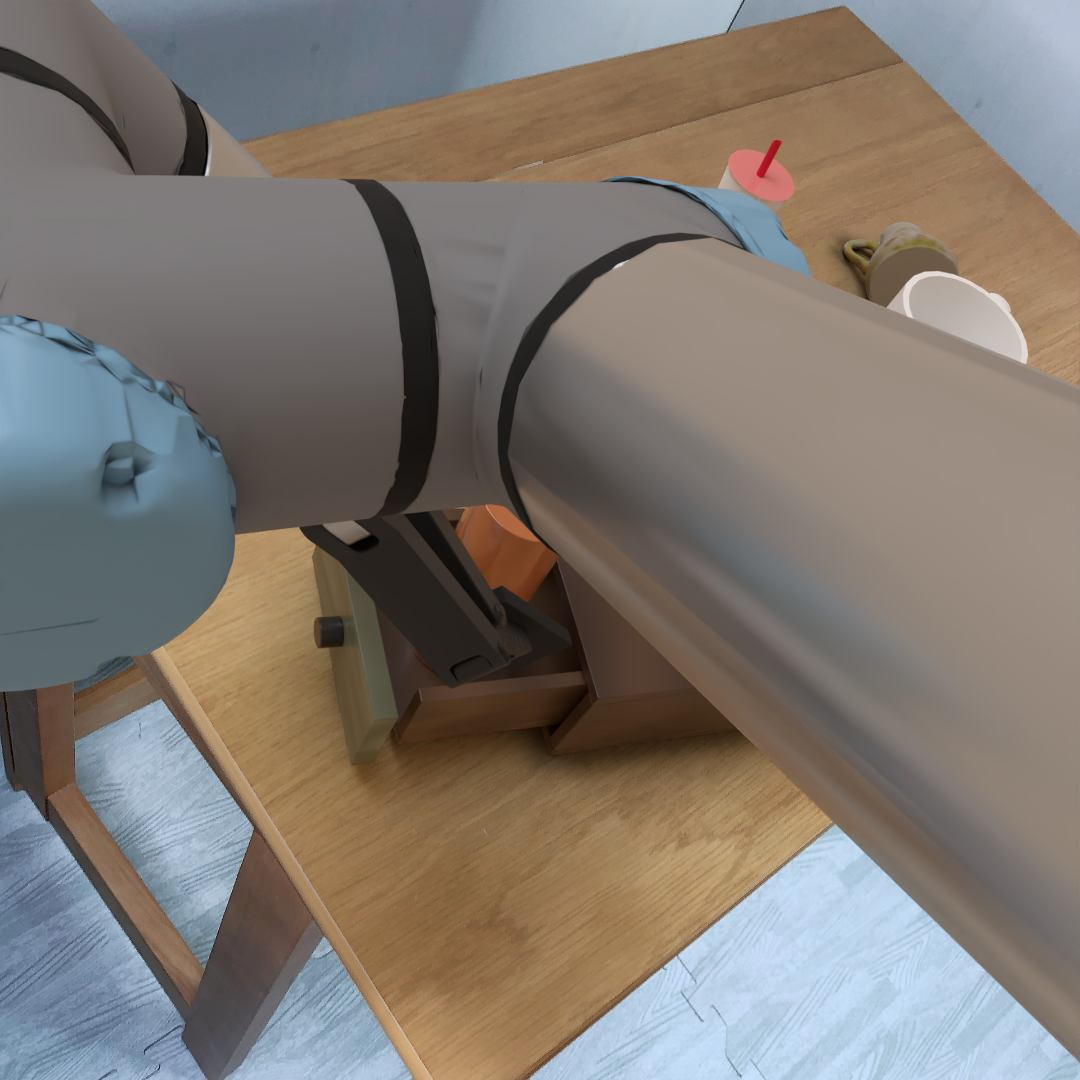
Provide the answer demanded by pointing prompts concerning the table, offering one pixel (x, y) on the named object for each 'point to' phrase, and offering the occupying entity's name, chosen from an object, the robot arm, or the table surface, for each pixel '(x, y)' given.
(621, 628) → the cabinet
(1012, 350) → the mug
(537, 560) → the orange cylindrical post
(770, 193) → the cup
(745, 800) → the table surface
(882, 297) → the mug
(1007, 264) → the table surface
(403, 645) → the drawer
